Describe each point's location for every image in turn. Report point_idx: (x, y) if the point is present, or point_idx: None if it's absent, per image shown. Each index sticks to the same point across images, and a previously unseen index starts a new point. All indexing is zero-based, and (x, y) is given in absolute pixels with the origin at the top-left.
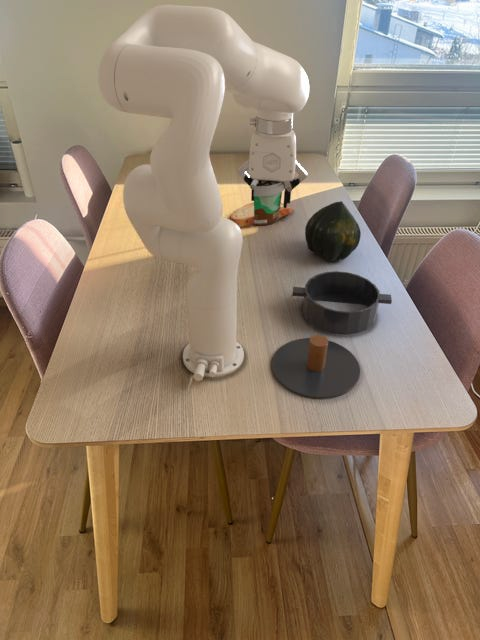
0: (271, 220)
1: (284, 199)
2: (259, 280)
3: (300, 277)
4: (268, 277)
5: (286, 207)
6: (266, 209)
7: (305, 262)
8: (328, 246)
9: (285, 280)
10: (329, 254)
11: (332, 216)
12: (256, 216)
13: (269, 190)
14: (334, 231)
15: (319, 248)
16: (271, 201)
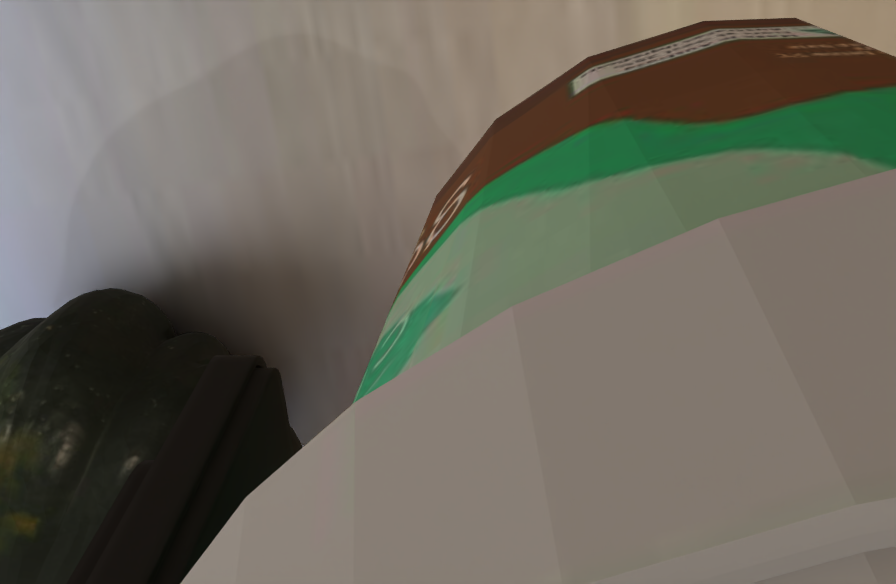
0: (494, 138)
1: (204, 483)
2: (586, 3)
3: (292, 96)
4: (520, 58)
5: (221, 375)
6: (615, 141)
7: (294, 283)
8: (91, 340)
9: (390, 37)
10: (105, 302)
11: (29, 580)
12: (820, 47)
13: (603, 496)
14: (12, 439)
15: (178, 349)
16: (494, 292)
